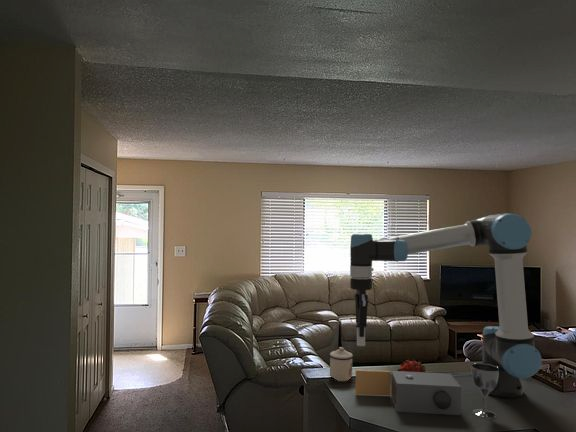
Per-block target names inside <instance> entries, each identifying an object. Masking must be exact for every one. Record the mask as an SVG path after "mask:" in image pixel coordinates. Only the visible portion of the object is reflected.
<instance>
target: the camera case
mask: <svg viewBox="0 0 576 432" xmlns="http://www.w3.org/2000/svg"><path fill="white" fill-rule="evenodd" d="M390 398H391V400H392V402H393V403H392V404H393V405H394V408H395V411H396V412H397V413H398V412H399V413H414V414H415V413H416V414H430V415H431V414H432V415H433V414H435V415H436V414H437V415H449V416H450V415H451V416H462V386H461V384H459V382H458V381H457V380H456V379H455V377H454V376H453V375H452V373H442V372H440V373H439V372H426V371H425V372H404V371H397V370H391V377H390Z"/></svg>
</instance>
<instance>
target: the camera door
mask: <svg viewBox="0 0 576 432" xmlns="http://www.w3.org/2000/svg"><path fill="white" fill-rule="evenodd" d="M391 373H392V371H390V370H372V369H370V370H369V369H366V370H365V369H355V387H354V388H355V391H354V393H355V395H370V396H391Z"/></svg>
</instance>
